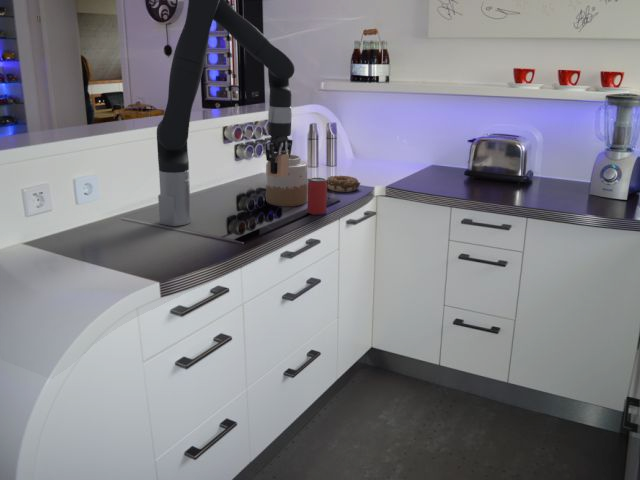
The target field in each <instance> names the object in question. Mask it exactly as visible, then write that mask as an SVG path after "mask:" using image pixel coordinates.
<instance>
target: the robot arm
mask: <svg viewBox="0 0 640 480" xmlns="http://www.w3.org/2000/svg"><path fill="white" fill-rule="evenodd" d="M186 11H187V12H186V17H185V21H184V25H183V27H182V30H181V33H180V36H179V38H178V40H177V42H176V46H175V49H174V53H173V57H172V61H171V67H170V73H169V80H168V92H167V93H168V96H167V103H166V107H165V110H164V113H163V117H162V119H161V121H160V122H159V123H158V125H157V126H156V146H157V161H158V164H157V165H158V171H159V172H158V174H159V176H158V177H159V191H160V192H159V194H158V196H157V199H158V213H159V214H158V217H159V224H160V225H165V226H170V227H174V226H175V227H178V226H186V225H188V224H190V223H191V222H192V217H191V215H192V212H191V211H192V210H191V190H190V185H191V184H190V165H189V164H190V162H189V152H188V150H189V149H188V139H189V130H190V129H189V128H190V123H191V122H190V121H191V115H192V108H193V105H194V103H195V99H196V97H197V93H198V91H199V87H200V83H201V79H202V75H203V72H204V68H205V63H206V58H207V52H208V46H209V39H210V32H211V27H212V24H213V22H214V21H215V22H216V23H217V24H218V25H220V26H221V27H222V28H223V29H224V30H225V31H226V32H227V33H228V34H229V35H230V36H231V37H232V38H233V39H234V40H235V41H236V42H237V43H238V44H239V45H240V46H241V47H242V48H243V49H244V50H246V52H247V53H248V54H250V55H251V56H252V57H253V58H254V59H255V60H256V61H258V62H261V64H262V65H264V67H266V68H267V75H268V87H269V98H268V99H269V100H268V101H269V104H268V105H269V107H268V113H267V115H268V116H267V120H268V121H267V134H268V135H269V136H270V141H269V143H267V142H266V143H265V144H264V148H265V157H266V161H267V162H268V161H270V162H271V169H270V171H271V173H272V174H277V162H278V156H280V154H281V153H282V154H289V158H290V155H292V154H291V153H292V148H293V143H294V142H293V140H292V139H290V138H289V137H290V136H292V117H293V116H292V114H293V113H292V91H291V89H290V79H291V78H292V77H293V75H294V74H295V71H296V70H295V64H294V62H293V60H292V59H290V57H289V56H287V55H286V54H285V53H284V52H283V51H282V50H281V49H279V48H278V47H276V46H275V45H274V44H273V43H272V42H271V41H270V39H268V38H267V36H265V35H264V33H262V32H261V31H260V30H259V29H258V28H257V27H256V26H254V25H253V24H252V23H251V22H250V21H249V20H247V19H246V18H244V17H243V16H242V15H240V14H239V12H237V11H236V10H235V9H233V8H232V6H231V5H229V3H228V2H227V1H226V0H188V4H187V10H186ZM276 152H277V153H276ZM269 155H270V157H269ZM274 155H276V156H274Z"/></svg>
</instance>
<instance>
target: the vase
mask: <svg viewBox="0 0 640 480" xmlns="http://www.w3.org/2000/svg"><path fill="white" fill-rule="evenodd" d="M308 174H309V165H308V162H307V161H304V160H302V159H301V156H300V155H297V154H296V155H295V154H291V155H290V158H289V174H288V175H287V176H284V177H275V176H269V175H268V161H267V162H266V163H265V200H266V202H267V203H268V204H269V205H272V206H278V207H297V206H302V205H305V204H306V203H308V178H309V177H308Z"/></svg>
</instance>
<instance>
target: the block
mask: <svg viewBox="0 0 640 480" xmlns="http://www.w3.org/2000/svg"><path fill="white" fill-rule="evenodd" d="M275 153H277V152H275ZM274 156H276V155H274ZM269 157H270V155H269ZM267 162H268V175H269V176H275V177H284V176H287V175H288V174H289V154H288V153H287V154H282V153H281V154H280V156H278V162H277V174H272V173H271V171H270V169H271V162H270V161H267Z"/></svg>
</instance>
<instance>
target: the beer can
mask: <svg viewBox="0 0 640 480" xmlns="http://www.w3.org/2000/svg"><path fill="white" fill-rule="evenodd" d="M326 180H327V178H323V177H311V178H310V179H309V182H308V183H307V212H308V214H310V215H313V216H322V215H324V214H326V213H327V201H328V199H327V198H328V188H327V183H326Z"/></svg>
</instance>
